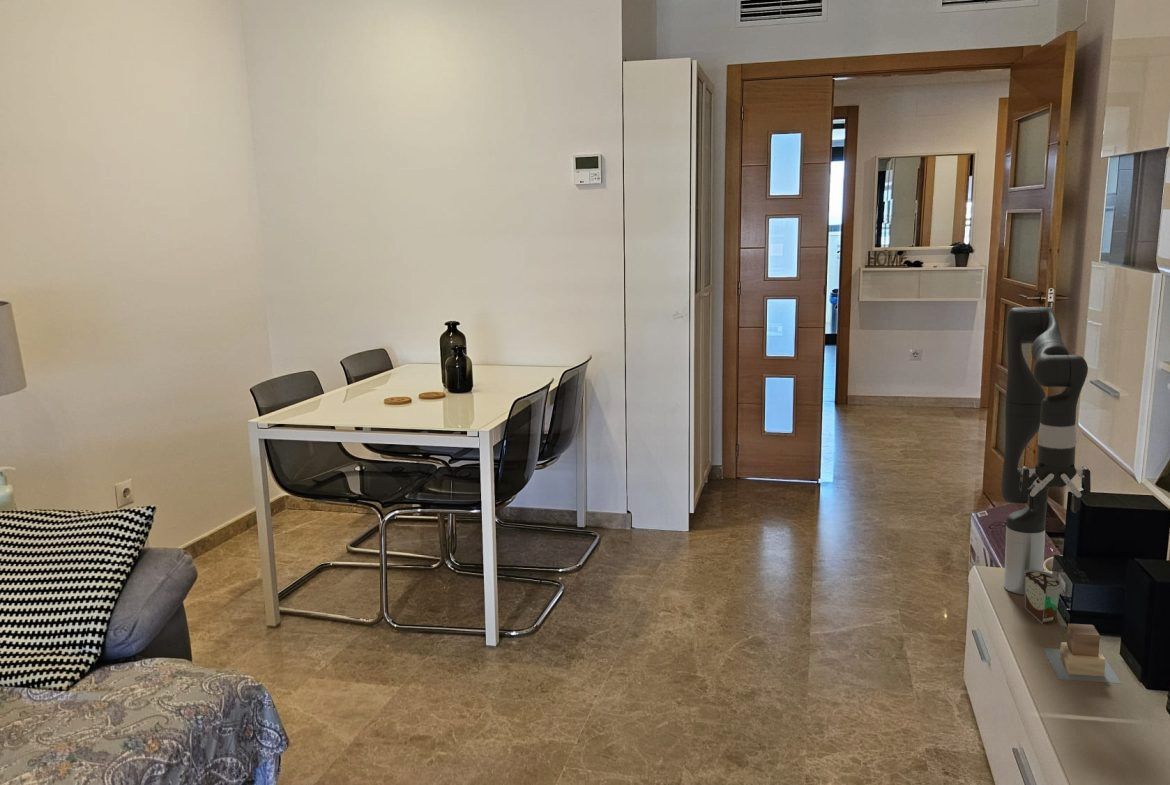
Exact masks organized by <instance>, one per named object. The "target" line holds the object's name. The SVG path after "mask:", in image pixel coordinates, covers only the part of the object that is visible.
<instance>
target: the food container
mask: <svg viewBox="0 0 1170 785" xmlns="http://www.w3.org/2000/svg"><path fill="white" fill-rule="evenodd" d="M1024 577H1025V595H1024V609H1025V610H1027V612H1028V613H1030V612H1031V613H1030V614H1031V615H1032V616H1033V617H1034V618H1035V619H1037V621H1038V622H1039V623H1040V622H1041V623H1040V624H1041V625H1049V623H1050V624H1052V623H1054V622H1055V621H1056V619H1057V614H1058V605H1059V599H1060V595H1061V594H1062V593H1063V592H1064V588H1063V583H1062V581H1061V579H1060V578H1059V577H1058V576H1056V575H1055V574H1053V573H1050V572H1047V571H1044V570H1043V571H1038V570H1025V572H1024Z"/></svg>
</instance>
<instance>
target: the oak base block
mask: <svg viewBox="0 0 1170 785" xmlns="http://www.w3.org/2000/svg"><path fill="white" fill-rule="evenodd" d="M1060 649H1061V651H1060V659H1061V661H1062V663H1063V665H1064V667H1065V668H1066V670H1067V672H1068V674H1075V675H1090V676H1104V674H1105V659H1106V657H1105V656H1104V655H1102V654H1103V653H1102V651H1101V650H1100V649H1099V656H1098V657H1094V656H1078V655H1073V654H1072V653H1071V651H1070V649H1069V647H1068V646H1067V641H1061V642H1060ZM1104 657H1105V658H1104Z"/></svg>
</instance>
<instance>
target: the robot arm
mask: <svg viewBox="0 0 1170 785" xmlns="http://www.w3.org/2000/svg"><path fill="white" fill-rule="evenodd" d="M1006 320H1007V321H1006V345H1007V348H1006V349H1007V376H1006V391H1005V392H1006V393H1005V418H1004V419H1005V425H1004V426H1005V430H1004V431H1005V436H1004V437H1005V439H1004V454H1003V461H1002V462H1003V464H1002V471H1001V472H1002V474H1001V494H1002V498H1003V500H1004V501H1005V502H1006V503H1010V504H1027V506H1026V507H1024V508H1022V509H1020V510H1015V511H1013V512H1011V513H1009V514H1008V515H1007V517H1006V522H1005V524H1006V525H1005V528H1006V529H1005V550H1004V551H1005V554H1004V573H1003V574H1004V576H1003V582H1004V583H1003V587H1004V589H1006V591H1009V592H1010V593H1014V594H1017V595H1024V596H1025V577H1024V572H1025V570H1038V571H1044V562H1045V540H1046V539H1045V538H1046V524H1047V523H1046V521H1047V508H1048V499H1049V491H1050V488H1053V487H1058V488H1064V487H1066V486H1067V487H1068V489H1069V490H1070V492H1072V494H1071V504H1070V505H1071V506H1070V509H1071V512H1072V513H1074V514H1076V513H1078V511H1080V510H1081V501H1082V500H1081V499H1082V497H1083V496H1089V495H1090V494H1092V493H1091V486H1092V485H1091V484H1092V483H1091V470H1090V469H1089V468H1088V467H1087V466H1085V465H1084V466H1081V467H1078V468H1077V467H1076V465H1075V463H1076V445H1077V428H1076V421H1077V420H1076V419H1077V407H1078V401H1079V398H1080V395H1081V393H1082V389H1083V387H1084V385H1085V381H1086V380H1087V377H1088V372H1089V370H1088V368H1089V367H1088V363H1087V361H1086V359H1085V358H1084V357H1083V356H1082V355H1078V354H1070V352H1069V350H1068V348H1067V347H1066V345H1065V344H1064V342H1063V340H1062V334H1061V329H1060V324H1059V321H1058V318H1057V314H1056V312H1055V311H1054V310H1053V309H1052V308H1051V307H1048V306H1030V307H1029V306H1023V307H1022V306H1021V307H1012V308H1011V309H1009V311H1008V314H1007V318H1006ZM1024 344H1032V345H1031V356H1032V357H1033V360H1034V361H1035V362H1034V367H1033V372H1032V370H1031V369H1030V367H1029V365H1028V363H1027V361H1026V359H1025V357H1024V354H1023V348H1022V347H1023V345H1024ZM1043 387H1047V388H1050V387H1051V388H1052V387H1053V388H1054V387H1055V388H1057V387H1058V388H1062V387H1063V388H1064V387H1065V389H1064V390H1063V391H1062V392H1061V393H1059V394H1054V395H1050V396H1047V395H1046V392H1045V390H1044V388H1043ZM1037 433H1038V435H1037ZM1036 435H1037V457H1036V465H1035V467H1030V466H1029V467H1028V466H1027V465H1022V466H1021V467H1019V462H1020V460H1021V456H1022V455H1023V452H1024V450H1026V447H1027V446H1028V444H1030V442H1031V440H1033V439H1034V437H1035V436H1036ZM1077 474H1078V476H1079V478H1081V488H1077V486H1076V485H1075V484H1074V483H1073V481H1072V480H1073V478H1074V477H1076V475H1077Z"/></svg>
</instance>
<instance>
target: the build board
mask: <svg viewBox="0 0 1170 785" xmlns="http://www.w3.org/2000/svg"><path fill="white" fill-rule="evenodd" d="M1042 649H1043V651H1044V654H1045V655H1046V657H1047V659H1048V661H1049V662H1050V664H1051V666H1052V669H1053V671H1054V673H1055V676H1056V677H1057V678H1058V680H1063V681H1064V680H1066V681H1077V682H1079V681H1081V682H1094V683H1095V682H1096V683H1110V684H1111V683H1112V684H1122V683H1121V680H1120V679H1119V678H1118V676H1117V674H1116V673H1115V671H1114V669H1112V667H1111V665H1110V664H1109V662H1108V660H1107V659H1106V657H1105V656H1104V655H1103V653H1102V655H1103V656H1104V658H1105V674H1104V676H1090V675H1075V674H1068V672H1067V670H1066V668H1065V667H1064V665H1063V663H1062V661H1061V659H1060V651H1061V648H1046V647H1044V648H1043V647H1042Z"/></svg>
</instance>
